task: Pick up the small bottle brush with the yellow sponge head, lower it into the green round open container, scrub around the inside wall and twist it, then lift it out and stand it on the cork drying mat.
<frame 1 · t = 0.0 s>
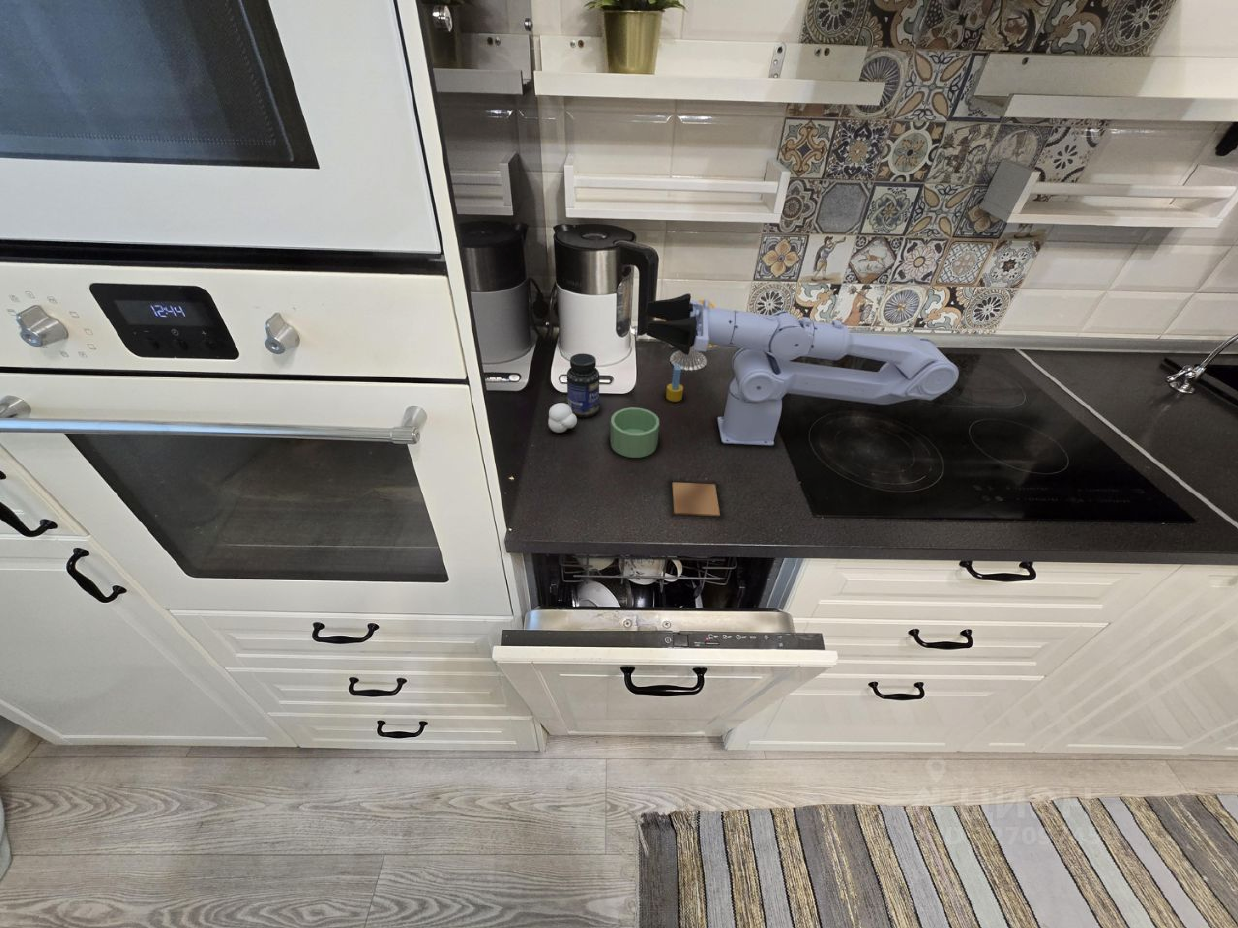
hand: (647, 317, 82), 22 cm above the worktop, tool horizontal, fingers open, 7 cm apart
green round open container: (633, 443, 93), on the worktop
pill bottle: (583, 410, 100), on the worktop
brush: (673, 397, 105), on the worktop
mat: (695, 499, 82), on the worktop
microfossil shell: (563, 430, 95), on the worktop
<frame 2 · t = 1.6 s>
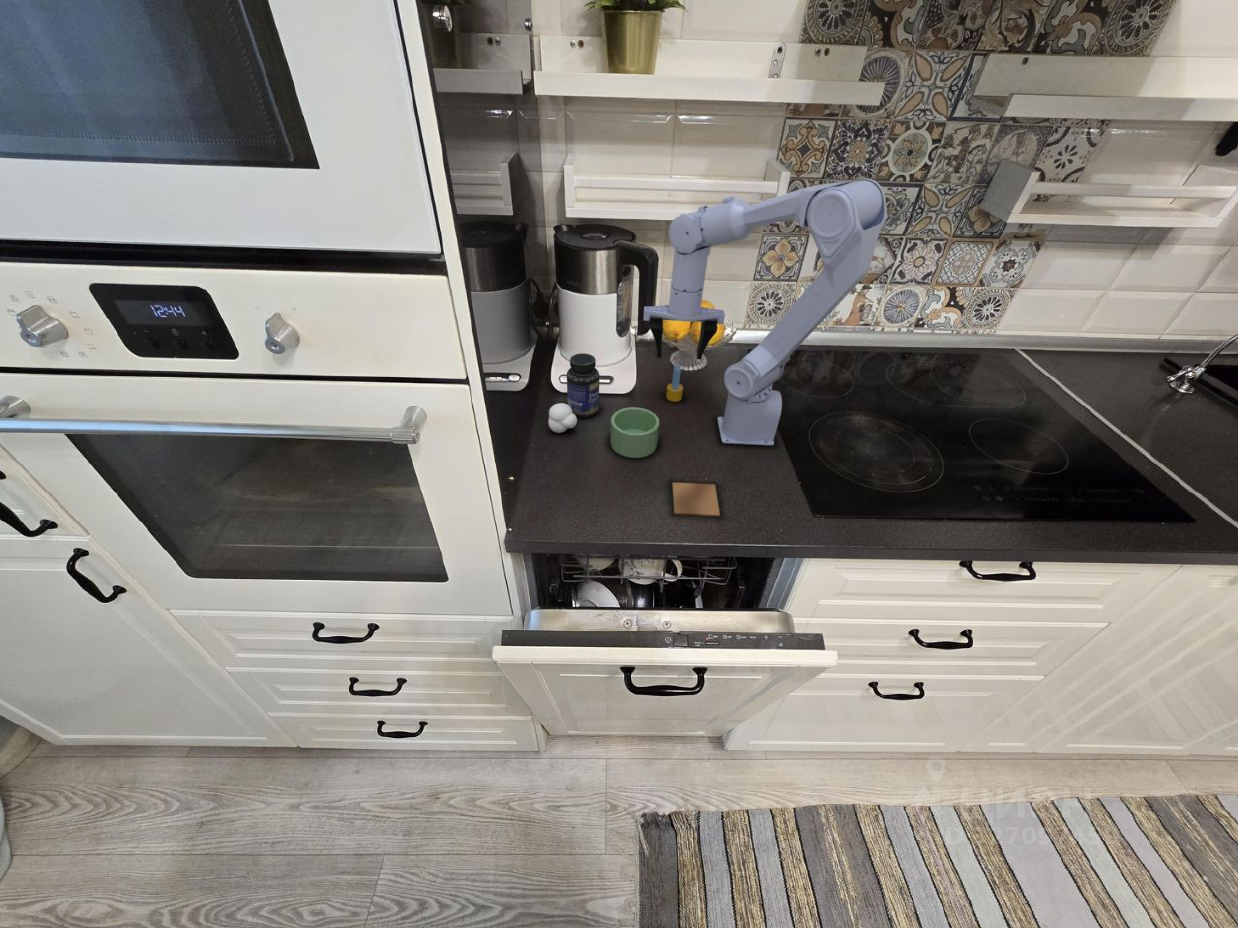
hand: (678, 356, 99), 9 cm above the worktop, tool pointing down, fingers open, 7 cm apart
nothing on the worktop moved.
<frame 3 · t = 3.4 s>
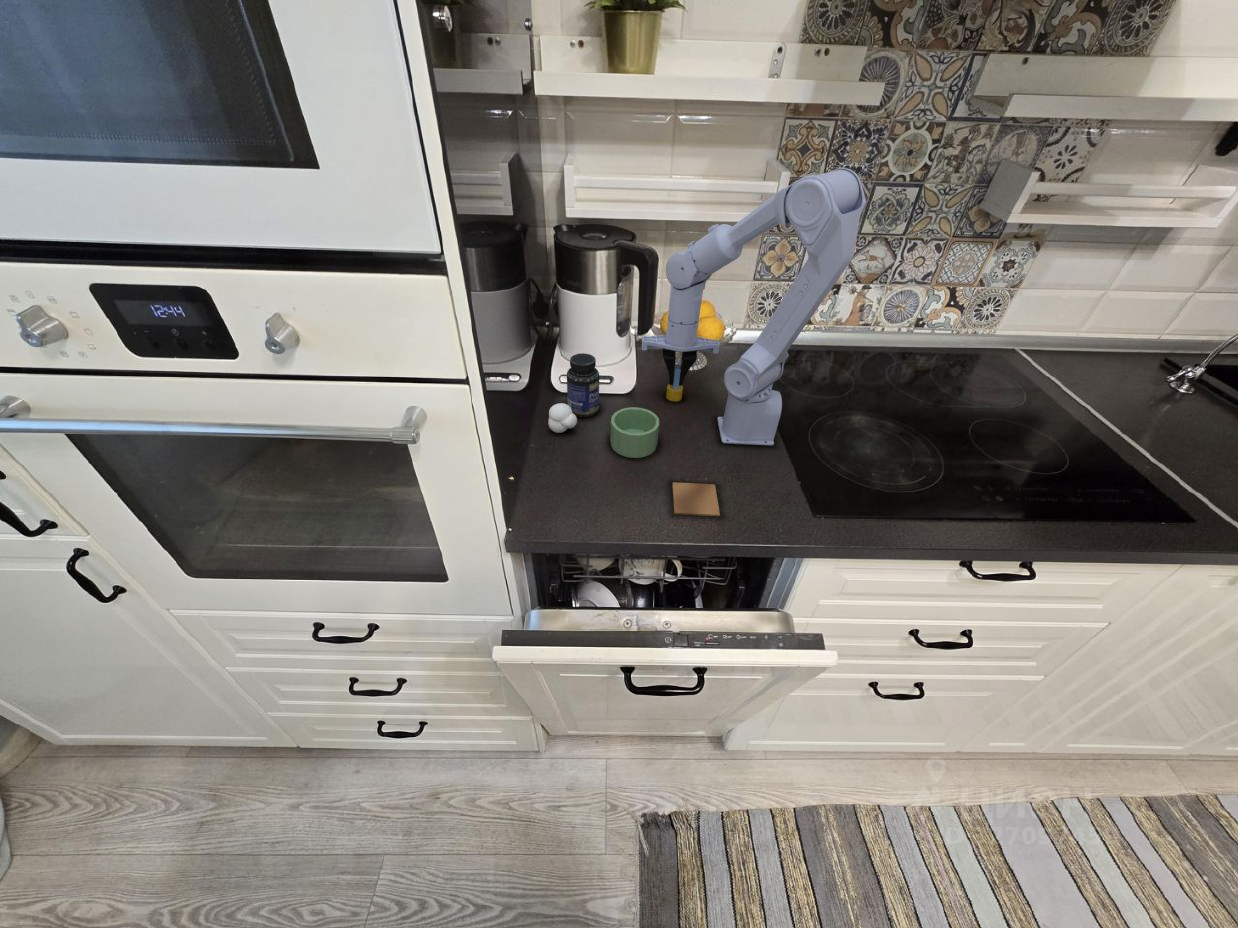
hand: (675, 382, 103), 3 cm above the worktop, tool pointing down, fingers closed on brush
brush: (673, 397, 105), on the worktop, touching gripper
everything else where it was.
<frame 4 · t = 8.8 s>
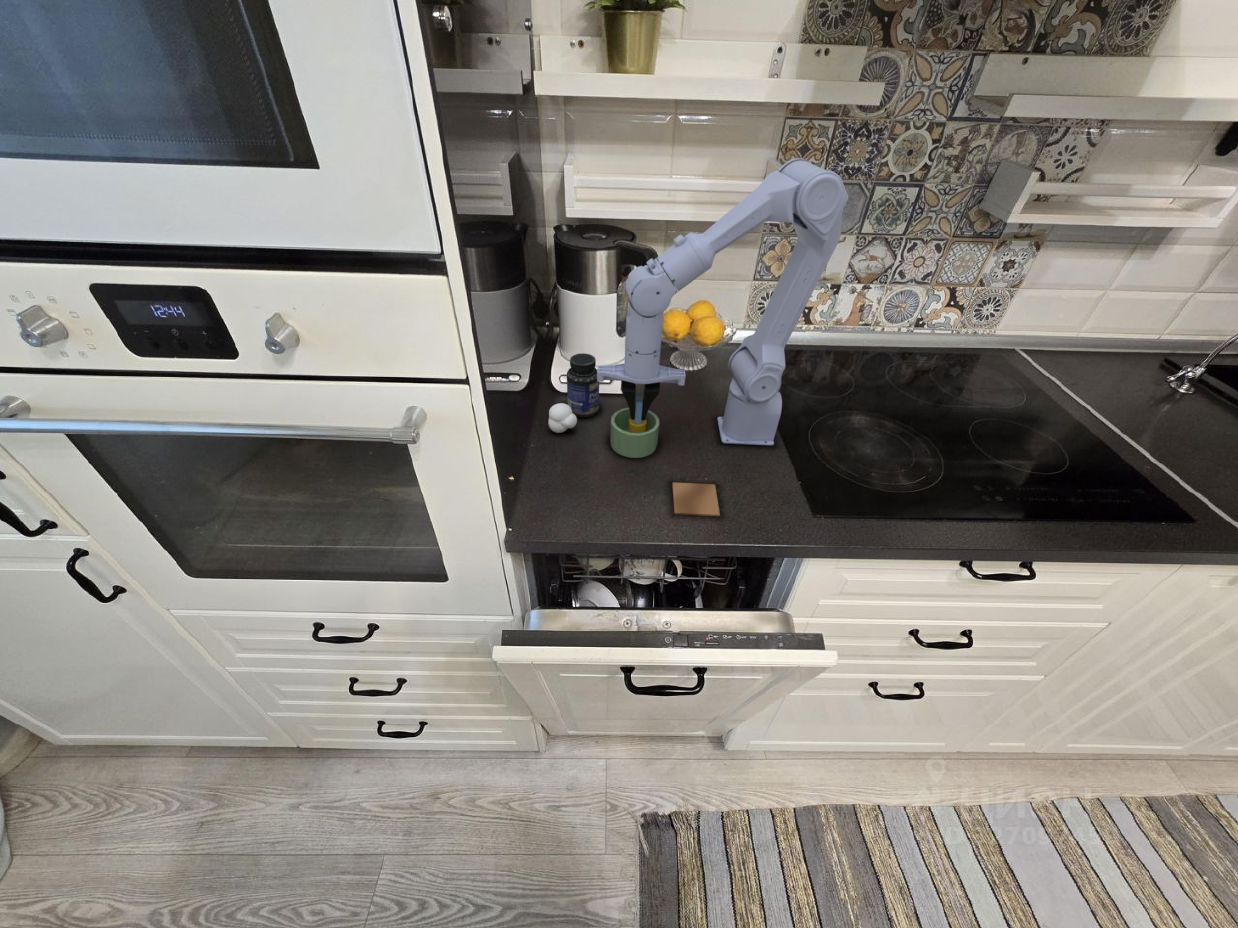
hand: (638, 416, 90), 5 cm above the worktop, tool pointing down, fingers closed on brush
brush: (637, 432, 93), point 2 cm above the worktop, touching gripper
everything else where it was.
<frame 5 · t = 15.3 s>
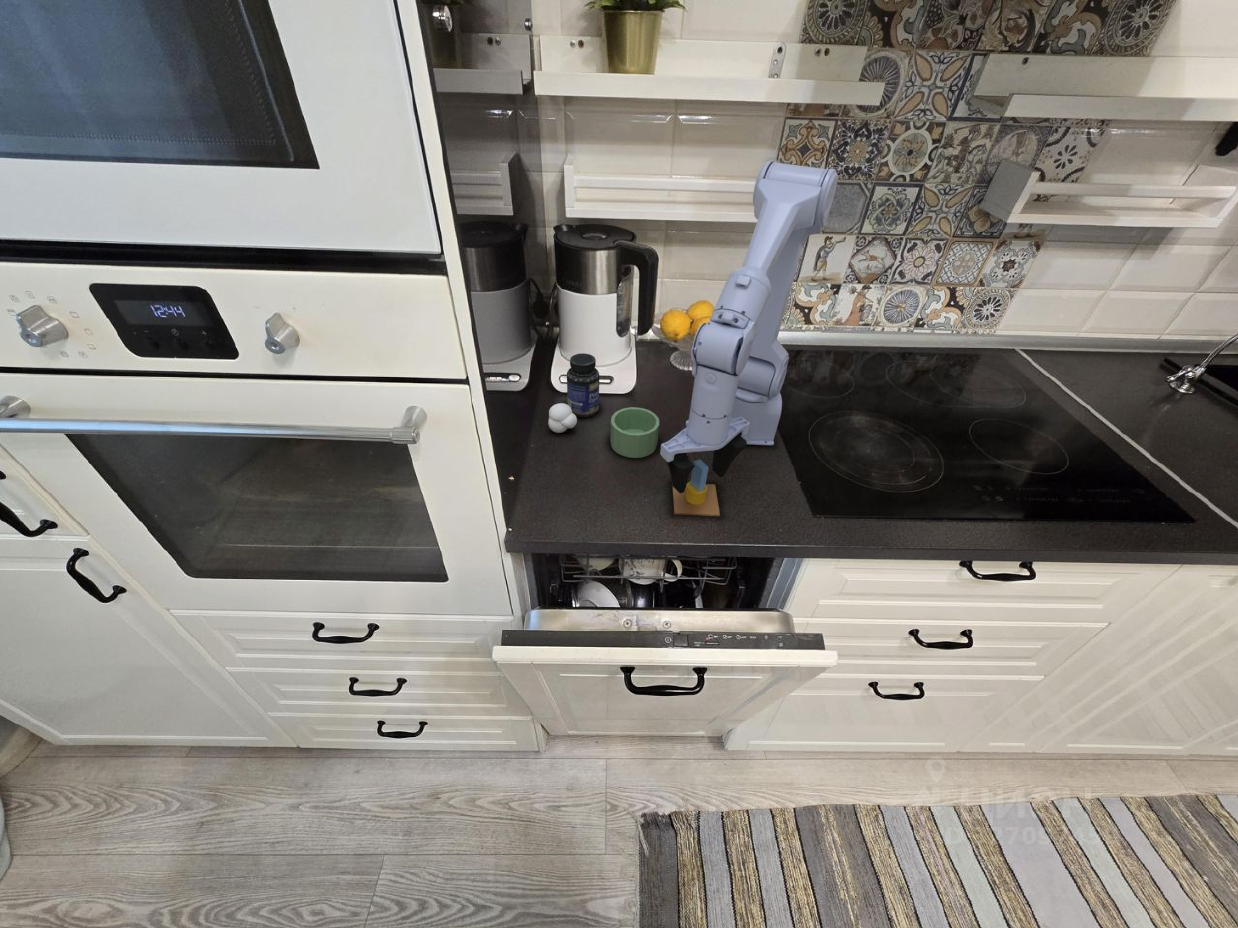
hand: (698, 481, 79), 4 cm above the worktop, tool pointing down, fingers open, 7 cm apart
brush: (695, 497, 81), resting on mat
everything else where it was.
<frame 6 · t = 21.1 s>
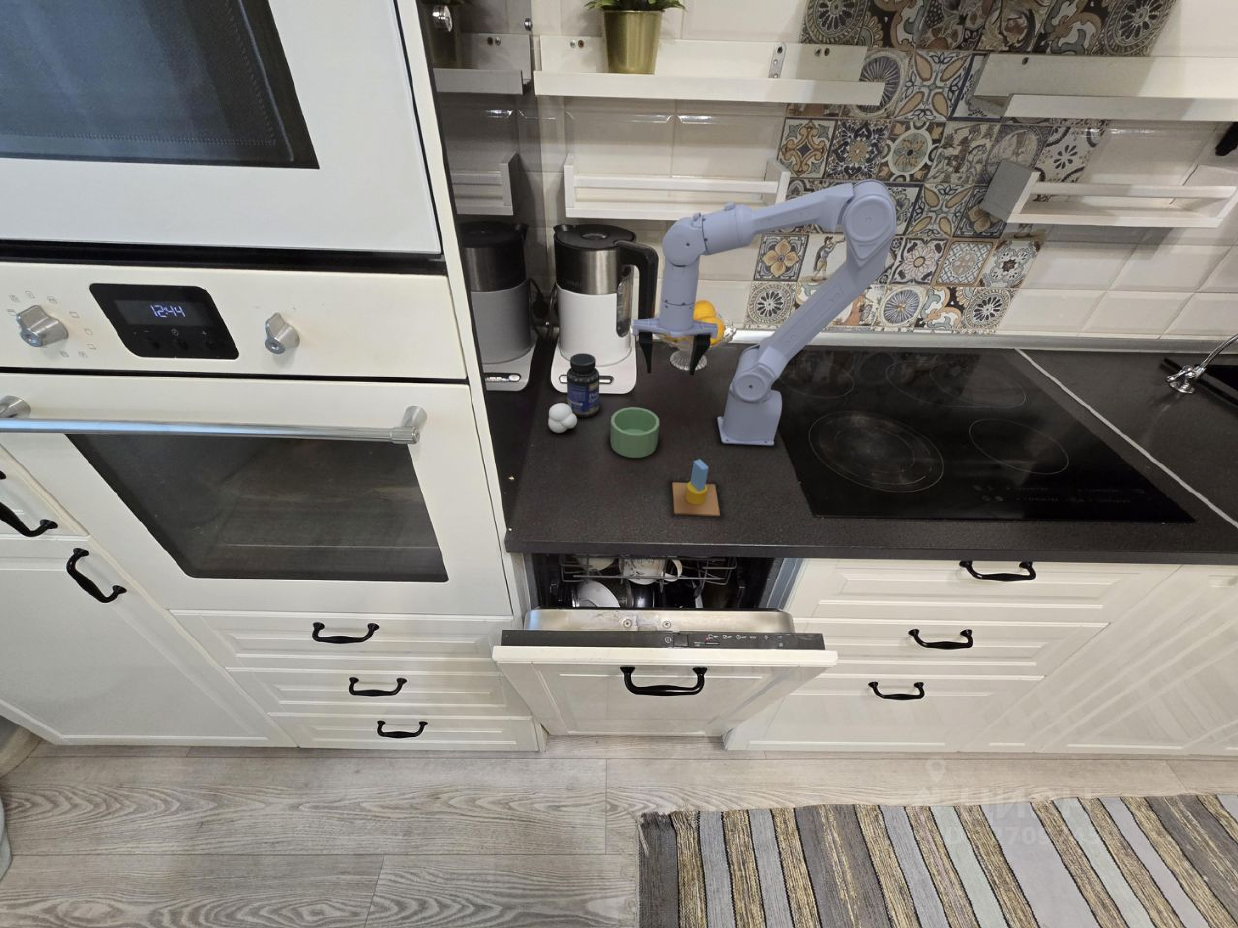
hand: (670, 371, 93), 10 cm above the worktop, tool pointing down, fingers open, 7 cm apart
nothing on the worktop moved.
at the end: brush 0.0 cm off-centre on the mat, point 0.4 cm above the mat's base; brush tilted 0°; the gripper is holding nothing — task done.
